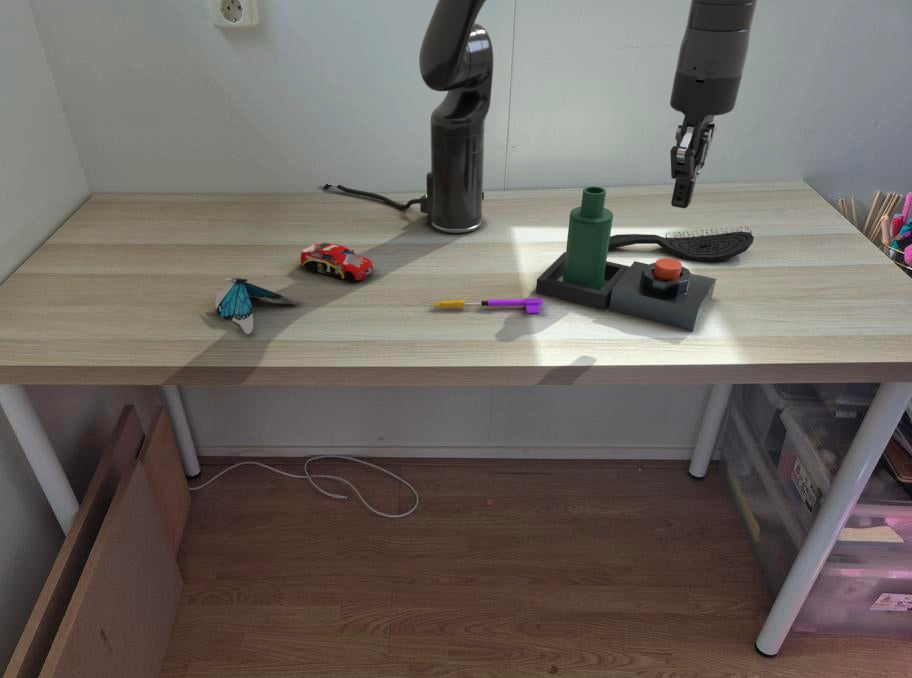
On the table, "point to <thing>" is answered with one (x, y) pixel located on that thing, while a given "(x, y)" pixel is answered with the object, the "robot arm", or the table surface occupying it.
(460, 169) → the robot arm
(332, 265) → the race car
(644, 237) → the hairbrush
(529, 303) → the purple yellow slender tool
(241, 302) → the decorative butterfly
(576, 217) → the vase
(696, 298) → the panel with orange knob
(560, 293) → the dock
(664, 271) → the button
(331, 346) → the table surface
